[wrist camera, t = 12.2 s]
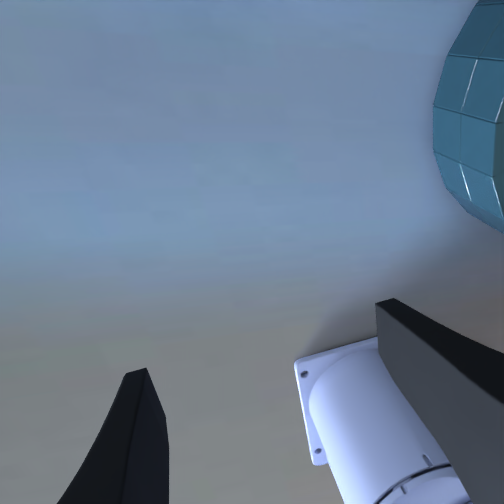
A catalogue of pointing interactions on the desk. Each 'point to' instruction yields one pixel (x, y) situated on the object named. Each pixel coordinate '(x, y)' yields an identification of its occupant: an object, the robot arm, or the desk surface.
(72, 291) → the desk surface
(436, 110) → the bowl
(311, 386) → the robot arm
